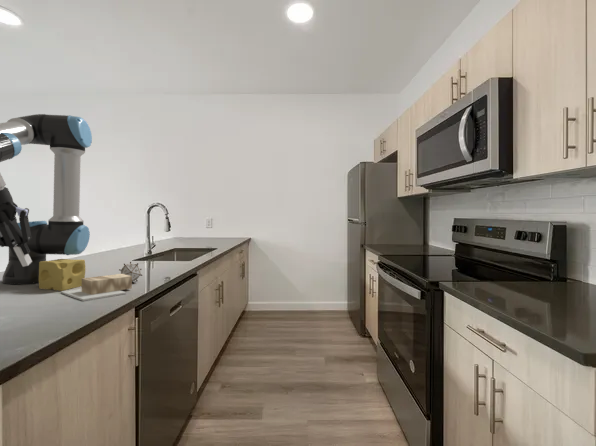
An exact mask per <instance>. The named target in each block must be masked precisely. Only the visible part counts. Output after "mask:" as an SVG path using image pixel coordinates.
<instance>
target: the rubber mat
mask: <svg viewBox="0 0 596 446" xmlns="http://www.w3.org/2000/svg"><path fill="white" fill-rule="evenodd" d="M60 294H62V295H65V296H68V297H71V298H73V299H76V300H78V301H79V300H80V301H82V302H86V301H93V300H99V299H105V298H110V297H115V296H116V297H117V296H123V295H127V291H125V290H118V291H112V292H106V293H99V294H93V295H90V294H87V293H85V292H82V288H74V289H68V290H64V291H60Z"/></svg>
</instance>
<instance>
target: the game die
mask: <svg viewBox="0 0 596 446" xmlns="http://www.w3.org/2000/svg"><path fill="white" fill-rule="evenodd" d="M138 265H139V263H132V261H130V262H129V263H127V264H126V263H123V266H122V268H121V269H118V271H120V274H125V275H129V276H132V282H135V281H136V282H138V279H139V278H140V276H143V274H141V271H142V268H140V266H138Z"/></svg>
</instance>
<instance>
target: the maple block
mask: <svg viewBox="0 0 596 446" xmlns="http://www.w3.org/2000/svg"><path fill="white" fill-rule="evenodd" d="M132 282H133V281H132V276H129V275H125V274H121V273H116V274H108V275H98V276H90V277H85V278H82V286H81V289H82V292H85V293H87V294H90V295H93V294H99V293H106V292H112V291H118V290H120V291H125V290H129V289H133V283H132Z"/></svg>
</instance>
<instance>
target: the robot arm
mask: <svg viewBox="0 0 596 446" xmlns="http://www.w3.org/2000/svg"><path fill="white" fill-rule="evenodd" d="M92 140H93V136H92V131H91V128H90V126H89V124H88V122H87V121H86V120H85V119H84V118H83V117H81V116H73V115H65V114H63V115H61V114H60V115H59V114H45V113H38V114H32V115H31V114H30V115H25V116H18V117H13V118H10V119H9V120H8V119H7V121H6V122H0V163H1V162H4V161H7V160H11V159H14V157H17V156H19V155H20V154H21V152H22V149H23V146H25V145H28V144H29V145H44V146H49V150H50V151H51V152H52V153H53V154H54V161H53V164H54V166H53V167H54V168H53V169H54V170H53V209H52V210H53V212H52V213H53V214H52V216H51V217H50V218H49V219H48V222H47V220H35V221H29V213H30V209H29V208H27V207H25V208H22V207H18V204H16V203H15V202H14V199H13V196H12V194H11V192H10V190H9V188H8V187H6V185H7V184H6V182H5V179H4V177H3V176H2V174H1V173H0V248H3V247H7V248H8V263H7V264H6V267H5V270H4V272H3V274H2V283H3V284H6V285H29V284H39V262H42V261H47V255H61V256H62V255H63V256H64V255H65V256H71V255H74V256H75V255H80V254H81V253H83V252H84V251H85V250H86V249H87V248H88V247H87V246H88V244H89V241H90V236H91V235H90V228H89V227H88V226H87V225H85V224H84V220H83V219H82V218H81V217H80V203H81V202H80V200H81V199H80V198H81V195H80V193H81V157H82V156H83V155H84V154H86V149H87V148H90V146H92V145H91V144H92ZM16 215H17V216H18V219H17V217H16ZM18 221H19V222H18Z"/></svg>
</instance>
